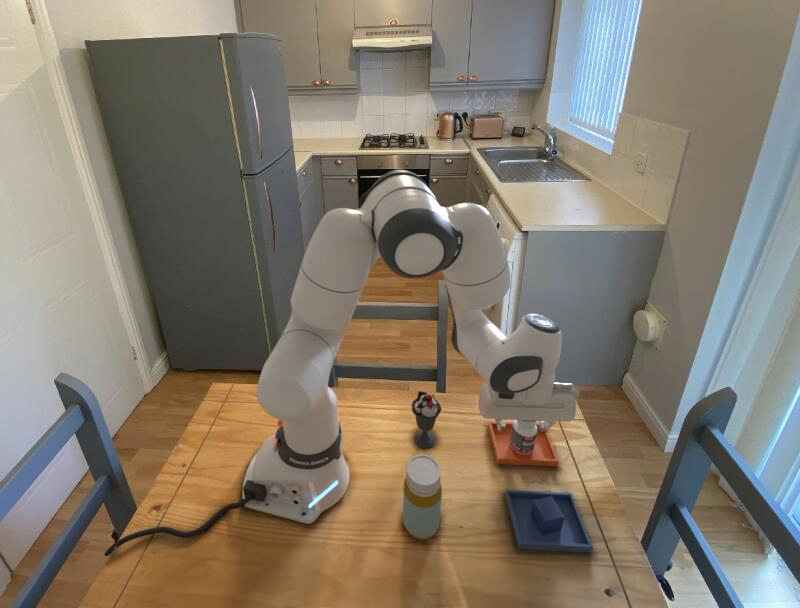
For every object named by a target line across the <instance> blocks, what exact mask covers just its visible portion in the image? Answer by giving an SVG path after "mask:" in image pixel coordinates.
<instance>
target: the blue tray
mask: <svg viewBox="0 0 800 608" xmlns="http://www.w3.org/2000/svg"><path fill="white" fill-rule="evenodd" d="M504 496H505V500H506V505H507V508H508V509H507V510H508V512H509V517H510V521H511V525H512V529H513V533H514V538H515V541H516V545H517V550H535V551H553V552H569V553H570V552H573V553H587V554H588V553H590V554H591V553H592V551H593V544H592V542H591V539H590V536H589V534H588V532H587V529H586V526H585V525H584V522H583V519H582V517H581V514H580V511H579V509H578V506H577V504H576V502H575V499H574V496H573V493H571V492H557V491H555V492H553V491H533V490H513V489H512V490H511V489H506V490H505V494H504ZM550 496H552V497H553V499H554V501H555V502H556V504H557V505H558V507H559V509H560V510H561V512H562V513H563V515H564V521H563V524H562V528H561V530H560V531H556V532H552V533H548V534H544V535H542V534H541V532H540V530H539V528H538V526H537V525H536V523H535V521H534V519H533V517H532V516H531V509H532V504H533V500H537V499H542V498H546V497H550Z"/></svg>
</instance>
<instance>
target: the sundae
mask: <svg viewBox="0 0 800 608" xmlns="http://www.w3.org/2000/svg"><path fill="white" fill-rule="evenodd" d="M411 411H412V413H413V415H414V416H415V420H416V421H415V422H416V426H417V428H418V429H420V430H418V431H417V432H415V434H414V437H413V438H414V439H413V440H414V442H415V444H416V445H417V446H418V447H420V448H423V449H429V448H431V447H433V446H434V445H435V444H436V436H435V435H434V433H433V432H431V431H432V430H433V429H434V426H435V424H436V420H437V418H438V417H439V415H440V413H441V412H442V407H441V403H439V401H438V400H437V399H436V398H435V395H434V394H432V395H431V394H428V392H426V391H420V390H419V391H418V393H417V397H416V398H414V399H413V400H412V403H411Z"/></svg>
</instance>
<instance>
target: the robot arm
mask: <svg viewBox="0 0 800 608" xmlns="http://www.w3.org/2000/svg"><path fill="white" fill-rule="evenodd" d="M357 207H358V208H356V209H354V208H349V207H337V208H334V209H331V210H329V211H328V212H326V213H325V214H324V215H323V216H322V218H321V219H320V220H319V222H318V224H317V226H316V228H315V229H314V232H313V234H312V235H311V238H310V240H309V242H308V244H307V246H306V249H305V252H304V254H303V257H302V260H301V263H300V266H299V270H298V273H297V276H296V280H295V283H294V286H293V290H292V293H291V296H290V306H291V313H290V316H289V319H288V322H287V324H286V326H285V328H284V330H283V332H282V334H281V335H280V337H279V339H278V341H277V342H276V344H275V346H274V347H273V349H272V351H271V352H270V354H269V356H268V357H267V359H266V360H265V362H264V364H263V366H262V369H261V372H260V375H259V378H258V381H257V386H256V389H255V395H256V400H257V402H258V404H259V405H260V407H261V408H262V410H263V411H264V412H265V413H266V414H267V415H268V416H269V417H272V418H273V419H276V420H278V421H277V426H278V427H279V428H278V429H276V432H275V434H272V435H271V436H269V437H267V438H266V439H265V440H264V441H263V443H262V444H261V446H260V448H259V449H258V450H257V452H256V453H255V454H254V455H253V457H252V459H251V461H250V462H249V465H248V468H247V469H246V473H245V475H244V479H243V484H242V492H241V493H242V494H241V495H242V499H241V500H240V501H237V502H231V503H229V504H227V505H225V506H224V507H222V508H220V509H219V510H218V511H217V512H216V513H215V514H214V515H212V517H211V518H209V520H207V521H206V522H205V523H204V524H203V525H201V526H200V527H198V528H196V529H193V530H189V531H183V530H181V529H180V530H179V529H176V528H173V527H170V526H157V527H156V526H155V527H151V528H147V529H142V530H139V531H135V532H133V533H130V534H128V535H126V536H123V537H122V538H120V539H119V540H117V541H115V542H114V543H113V544H112V545H110V546H109V547H108V548H107V550H106V551H104V554H103V555H104V557H109V556H110V555H111V554H113V552H114V551H115V550H116V549H117V548H119V547H121V546H123V545H124V544H126V543H128V542H130V541H132V540H135V539H138V538H141V537H146V536H150V535H154V534H168V535H171V536H174V537H177V538H181V539H189V538H193V537H196V536H198V535H200V534H202V533H203V532H206V530H208V529H209V528H210V527H211V526H212V525H213V524H214V523H215V522H216V521H217V520H218V519H219V518H220V517H222V516H223V515H224V514H226V513H227V512H229V511H231V510H234V509H240V508H241V507H243V506H244V507H245V508H247V509H251V510H255V511H258V512H261V513H265V514H269V515H272V516H276V517H280V518H284V519H287V520H291V521H295V522H299V523H302V524H306V525H310V524H313V523H314V522H315V521H316V520H317V519H318V518H319V516H320V515H321V514H322V513H323V512H324V511H326V510H328V509H330V508H331V507H333V506H334V505H335V504H337V503H338V502H339V501H340V500H341V499H342V498H343V496H344V495H345V493H346V491H347V489H348V487H349V483H350V479H351V478H350V477H351V475H350V468H349V465H348V464H347V462H346V460H345V457H344V454H343V447H344V445H343V443H344V442H343V432H342V426H341V422H340V420H339V405H338V396H337V395H336V393H335V391H334V390H333V389H332V388H331V387H329V379H330V376H331V372H332V368H333V365H334V362H335V360H336V358H337V355H338V353H339V350H340V347H341V344H342V342H343V339H344V337H345V334H346V332H347V330H348V327H349V324H350V322H351V320H352V318H353V316H354V312H355V311H356V308H357V305H358V303H359V300H360V298H361V295H362V293H363V291H364V287H365V285H366V282H367V281H368V277H369V274H370V271H371V268H372V267H373V266H374V265H375V264H376V262H377V260H378V259H379V258H382V260H383V263H385V266H387V267H388V269H390V271H391V272H392V273H394V274H395V275H397V276H399V277H401V278H405V279H422V278H427V277H429V276H430V277H431V276H433V275H435V274H437V273H439V272H441V274H442V276H443V279H444V283H445V288H446V295H447V299H448V303H449V308H450V312H451V317H452V330H451V344H452V347H453V348H454V350H455V351H456V352H457V353H458V354H459V355H461V357H463V359H465V360H466V362H467V363H468V364H469V365H470V366H471V367H472V369H473V370H474V371H475V372H476V373H477V375H478V376H479V377H481V379H482V380H483V381H484V383H483V385H482V387H481V390H480V393H479V396H478V397H479V398H478V410H479V413H480V416H481V417H482V418H483V419H486V420H490V419H491V420H495V421H494V422H496V423H497V428H498V431H505V429H506V425H505V422H506V421H505V420H509V421H510V420H513V421H514V420H534V421H536V422H537V421H539V422H538V423H539V424H540V425H539V429H540V432H541V433H548V434H549V431H550V429H551V428H552V427H553V426H555V425H556V423H557V422H565V423H571V422H572V421H573V420H575V418H576V412H577V401H576V400H577V399H578V398H579V395H580V389H579V387H577V386H576V385H574V384H573V383H569V382H567V383H563V382H555V381H556V378H557V377H556V376H557V375H556V369H557V367H558V365H559V363H560V358H561V354H562V348H563V334H562V333H563V332H562V330H561V328H560V326H559V325H558V324H557V323H556V322H554V321H553V320H551V319H550V318H549V317H548V316H544V315H541V314H538V313H526V314H524V315H523V316H522V318H521V320H520V322H519V325H518V327H517V328H516V329H515V330H514V331H513V332H512V333H511V334H510V335H507V334H506V333H504V332H503V331H502V330H501V329H500V328H499V327H498V326H496V325H495V324H494V322H493V321H492V320H491V319H490V318H489V317H488V316H487V315H486V314H485V313H484V312H483V310H484V309H485V310H486V309H488V308H491V307H493V306H495V305H496V304H498V303H499V302H500V301H501V300H503V298H504V297H505V296H506V295H507V294H508V292H509V291H510V287H511V271H510V265H509V261H508V256H507V253H506V247H505V246H504V242H503V239H502V237H501V234H500V231H499V229H498V226H497V224H496V222H495V221H494V218H493V217H492V215H491V213H490V212H489V210H487V209H486V208H485V207H484V206H482V205H480V204H477V203H473V202H462V203H457V204H453V205H451V206H443V205H440V203H439V201H438V199H437V197H436V196H435V195H434V193H433V192H432V191H431V190H430V187H429V185H428V183H426V181H425V180H424V179H422V177H420V176H419V175H418V174H416V173H414V172H413V171H409V170H406V169H394V170H390V171H387V172H386V173H384V174H383V175H381V176H380V177H379V178H378V179H377V180H376V181H375V182H374V183H373V185H372V186H371V187H370V188H369V189H368V190H367V191H366V192H364V193H363V194H362V195H361V196H360V197H359V199H358V201H357ZM115 546H116V548H115ZM114 548H115V549H114ZM113 550H114V551H113ZM112 551H113V552H112Z"/></svg>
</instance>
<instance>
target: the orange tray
mask: <svg viewBox="0 0 800 608" xmlns="http://www.w3.org/2000/svg"><path fill="white" fill-rule="evenodd" d="M504 422H505V425H506V429H505V431H498V428H497V423H496V421H488V425H487V428H488V433H489V436H490V439H491V443H492V448H493V452H494V455H495V459H496V464H497V465H517V466H539V467H541V466H542V467H559V462H560V460H559V459H558V458H559V457H558V456H557V453H556V450H555V448H554V445H553V444H552V441H551V438H550V435H549V432H548V433H541V432H540V429H539V425H540V424H539V423H540V422H536V426H537V435H536V440H535V445H534V450H533V452H532V453H531V454H529V455H521V454H519V453H517V452H515V451H514V450H513V449H512V447H511V445H510V436H511V430H512V425H513V422H511V421H504Z"/></svg>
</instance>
